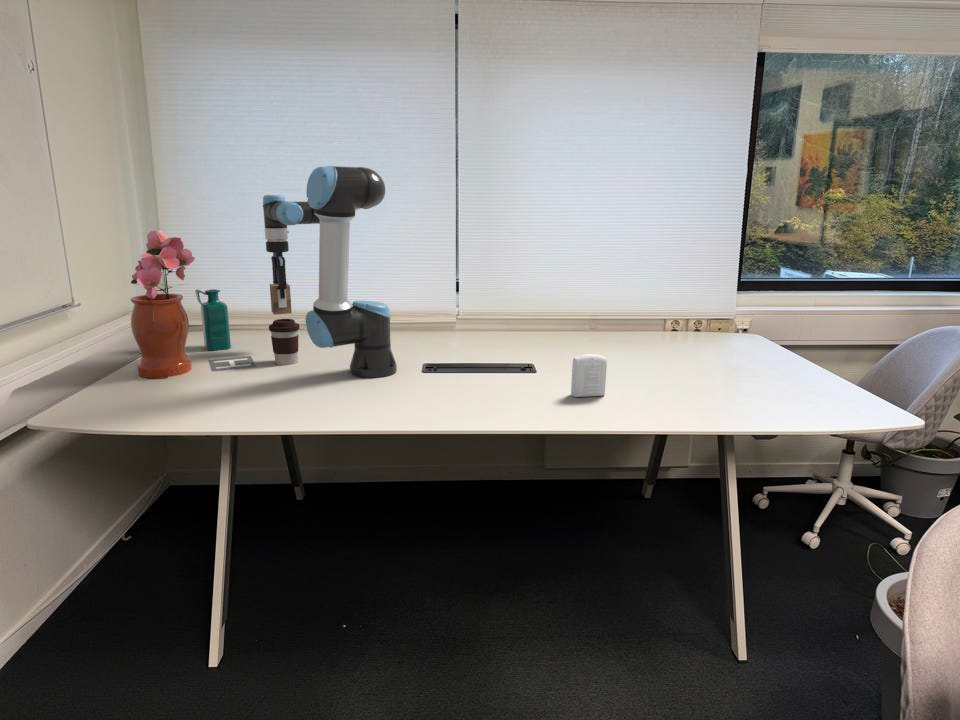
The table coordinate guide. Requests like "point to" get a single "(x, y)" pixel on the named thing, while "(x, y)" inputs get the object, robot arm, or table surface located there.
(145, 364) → the potted flower
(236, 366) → the letter mat
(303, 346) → the table surface
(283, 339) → the coffee cup
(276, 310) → the walnut block
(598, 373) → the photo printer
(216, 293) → the pitcher
